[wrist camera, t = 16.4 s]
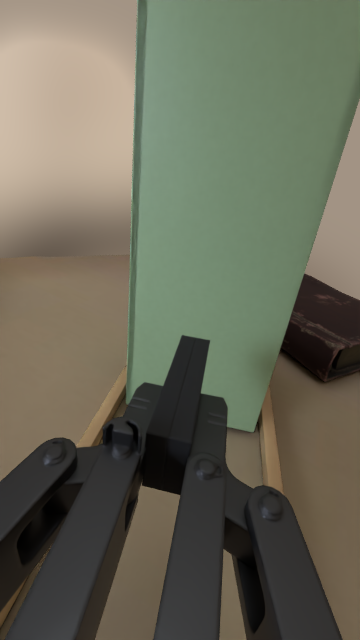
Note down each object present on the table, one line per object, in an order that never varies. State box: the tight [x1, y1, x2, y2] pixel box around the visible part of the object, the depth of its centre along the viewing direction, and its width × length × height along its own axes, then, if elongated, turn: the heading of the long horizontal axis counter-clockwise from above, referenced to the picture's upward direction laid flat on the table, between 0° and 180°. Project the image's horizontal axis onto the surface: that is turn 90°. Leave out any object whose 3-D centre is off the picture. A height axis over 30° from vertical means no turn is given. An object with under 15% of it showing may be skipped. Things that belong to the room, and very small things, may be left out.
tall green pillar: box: [126, 0, 360, 433], centre depth 23 cm, size 11×11×28 cm
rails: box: [0, 364, 284, 628], centre depth 21 cm, size 14×30×1 cm, turn 169°
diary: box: [281, 274, 360, 382], centre depth 44 cm, size 19×25×5 cm
